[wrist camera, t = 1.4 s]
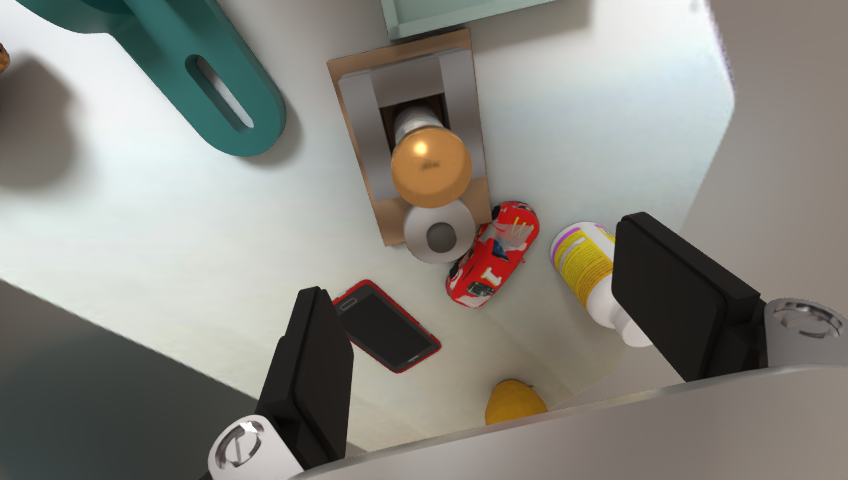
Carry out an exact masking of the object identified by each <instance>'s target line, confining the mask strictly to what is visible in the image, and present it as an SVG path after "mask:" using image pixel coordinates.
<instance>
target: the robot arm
mask: <svg viewBox="0 0 848 480" xmlns="http://www.w3.org/2000/svg"><path fill="white" fill-rule="evenodd" d="M611 292H612V295H613V297H614V298H615V300H616V301H617V302H618V303H619V304H620V306H621V307H622V308H623V309H624V310H625V311H626V313H627V314H628V315H629V316H630V317H631V318H632V320H633V321H634V322H635V323H636V324H637V326H638V327H639V328H640V329H641V330H642V331H643V333H644V334H645V335H646V336H647V337H648V338H649V340H650V341H651V342H652V343H653V344H654V345H655V347H656V348H657V349H658V350H659V351H660V353H662V355H663V356H664V357H665V358H666V360H667V361H668V362H669V363H670V364H671V365H672V367H673V368H674V369H675V370H676V371H677V373H678V374H679V375H680V376H681V377H682V378H683V380H684V381H685V382H686V383H682V384H677V385H673V386H668V387H663V388H658V389H653V390H649V391H644V392H640V393H635V394H630V395H625V396H621V397H616V398H611V399H606V400H601V401H597V402H592V403H587V404H583V405H578V406H574V407H569V408H565V409H560V410H556V411H550V412H546V413H541V414H537V415H532V416H528V417H523V418H518V419H514V420H509V421H505V422H500V423H495V424H491V425H486V426H482V427H477V428H473V429H468V430H464V431H460V432H455V433H451V434H446V435H442V436H437V437H433V438H428V439H424V440H419V441H415V442H410V443H406V444H401V445H397V446H393V447H389V448H385V449H381V450H376V451H372V452H368V453H364V454H360V455H356V456H352V457H347V458H345V451H346V439H347V428H348V416H349V405H350V394H351V382H352V371H353V360H354V353H353V348H352V345H351V343H350V340H349V338H348V336H347V334H346V332H345V329H344V327H343V325H342V323H341V321H340V318H339V316H338V314H337V312H336V310H335V307H334V305H333V303H332V301H331V299H330V296H329V294H328V292H327V290H326V289H323V290H321V289H320V287H318V286H315V287H311V288H307V289H302V290H300V291H299V293H298V295H297V299H296V302H295V305H294V308H293V311H292V314H291V318H290V321H289V324H288V327H287V330H286V333H285V336H282V337H281V338H280V339H279V342H278V344H277V347H276V350H275V353H274V356H273V359H272V362H271V365H270V368H269V371H268V374H267V377H266V380H265V383H264V386H263V389H262V392H261V395H260V398H259V401H258V405H257V408H256V411H255V413H254V415H251V416H247V417H244V418H242V419H239V420H238V421H236V422H235V423H233V424H232V425H230V426H229V427H228V428H227V429H226V430H225V431H224V432H223V433H222V434H221V435H220V436H219V437H218V439H217V440H216V441H215V443H214V445H213V447H212V449H211V451H210V453H209V459H208V466H209V471H208V472H207V473H206V474H205V475H204V476H203V477H202V478H200V479H199V480H848V319H846V318H845V317H844V316H843V315H842V314H840V313H838V312H837V311H835V310H833V309H831V308H830V307H827V306H824V305H822V304H819V303H817V302H813V301H809V300H804V299H798V298H779V299H775V300H772V301H770V302H769V303H768V304H767V303H766V302H764V301H763V300H762V299H760V298H759V297H760V295H761V294H760V293H759V292H757V291H756V290H755V289H753V288H752V287H750V286H749V285H748V284H746V283H745V282H743V281H742V280H741V279H739V278H738V277H736V276H735V275H734V274H732V273H731V272H729V271H728V270H726V269H725V268H724V267H722V266H721V265H719V264H718V263H717V262H715V261H714V260H712V259H711V258H710V257H708V256H707V255H705V254H704V253H703V252H701V251H700V250H698V249H697V248H695V247H694V246H693V245H691V244H690V243H688V242H687V241H685V240H684V239H683V238H681V237H680V236H679V235H677V234H676V233H674V232H673V231H671V230H670V229H669V228H667V227H666V226H664V225H663V224H662V223H660V222H659V221H657V220H656V219H655V218H653V217H652V216H650V215H649V214H647V213H646V212H639V213H635V214H630V215H626V216H624V217H622V219H621V221H620V222H618V223H617V226H616V237H615V248H614V259H613V270H612V281H611Z"/></svg>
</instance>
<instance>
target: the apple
mask: <svg viewBox="0 0 848 480" xmlns="http://www.w3.org/2000/svg"><path fill="white" fill-rule="evenodd" d="M546 412H548V411H547V408H546V406H545V404H544V402H543V401H542V399H541V398H540V397H539V396H538V395H537V393H536V392H535V391H533V390H532V389H531V388H529V387H528V386H526V385H524V384H523V383H521V382H519V381H517V380H506V381H503V382H502V383H500V384H498V385H497V386H496V388H495V389H494V390H493V392H492V395H491V397H490V399H489V402H488V404H487V408H486V412H485V420H486V425H491V424H495V423H500V422H505V421H509V420H514V419H518V418H523V417H528V416H532V415H537V414H541V413H546Z"/></svg>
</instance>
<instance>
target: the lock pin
mask: <svg viewBox="0 0 848 480" xmlns="http://www.w3.org/2000/svg"><path fill="white" fill-rule="evenodd" d="M392 119H393V128H394V135H395V142H396V146H395V148H394V150H393V153H392V157H391V174H392V180H393V184H394V186H395V188H396V190H397V192H398V193H399V195H400V196H401V197H402V198H403V199H404V200H406V201H407V202H409V203H410V204H412V205H414V206H417V207H421V208H429V209H430V208H439V207H442V206H445V205H448V204H450V203H451V202H453V201H455V200H456V199H457V198H458V197H459V196H460V195H461V194H462V193H463V192H464V191H465V189H466V188H467V186H468V184H469V182H470V179H471V174H472V161H471V157H470V154H469V152H468V150H467V148H466V147H465V145H464V144H463V142H462V141H461V140H460V138H459V137H458V136H457V135H456V134H455V133H453V132H452V131H450V130H449V129H447V128H444V127H443V125H442V124H441V122H440V120H439V119H438V117H437V115H436V114H435V112H434V110H433V109H432V107H431V106H430V104H429V103H428V102H427V101H426V100H424V99H422V98H418V99H414V100H410V101H406V102H402V103H398V104H397V106H396V107H395V109H394V112H393V118H392Z"/></svg>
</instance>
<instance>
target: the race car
mask: <svg viewBox="0 0 848 480" xmlns="http://www.w3.org/2000/svg"><path fill="white" fill-rule="evenodd" d="M491 216H492V222H489V223H485V224H483V225H482V226H481V228H480V229H479V231H478V232H477V234H476V235H475V238H474V241H473V243H472V245H471V247H470V248H469V250H468V251H467V252H466V253H465V254H464V255H462V256H461V257H460V258H459V259H458V261H459V263H458V262H456V263H455V265H454V266H453V268H452V269H451V270H450V276H449V275H448V276H447V279H446V290H447V293H448V295H449V296H450V297H451V299H452V300H453V301H455V302H457V303H459V304H461V305H464V306H467V307H470V308H477V307H480V306H482V305H483V304H484V303H485V302H486V301H487V300H488V299H489V298H490V297H491V296H492V295H493V294H494V293H495V292H496V291H497V290H498V289H499V288H500V287H501V286H502V284H503V283H504V282H505V281H506V280H507V278H508V277H509V276H510V275H511V273H512V272H513V271H514V269H515V268H516V267H517V265H518V264H519V262H520V261H521V262H523V263H525V261H524V259H523V258H522V257H523V255H524V253H525V252H526V250H527V249H528V247H529V246H530V245H531V243H532V242H533V240H534V239H535V238H536V237H537V235H538V233H539V221H538V219H537V216H536V214H535V212H534V210H533V209H532V208H531V207H530V206H529V205H527V204H526V203H522V202H517V201H509V202H504V203H500V206H495V207H494V210H493V211H492V212H491Z"/></svg>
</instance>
